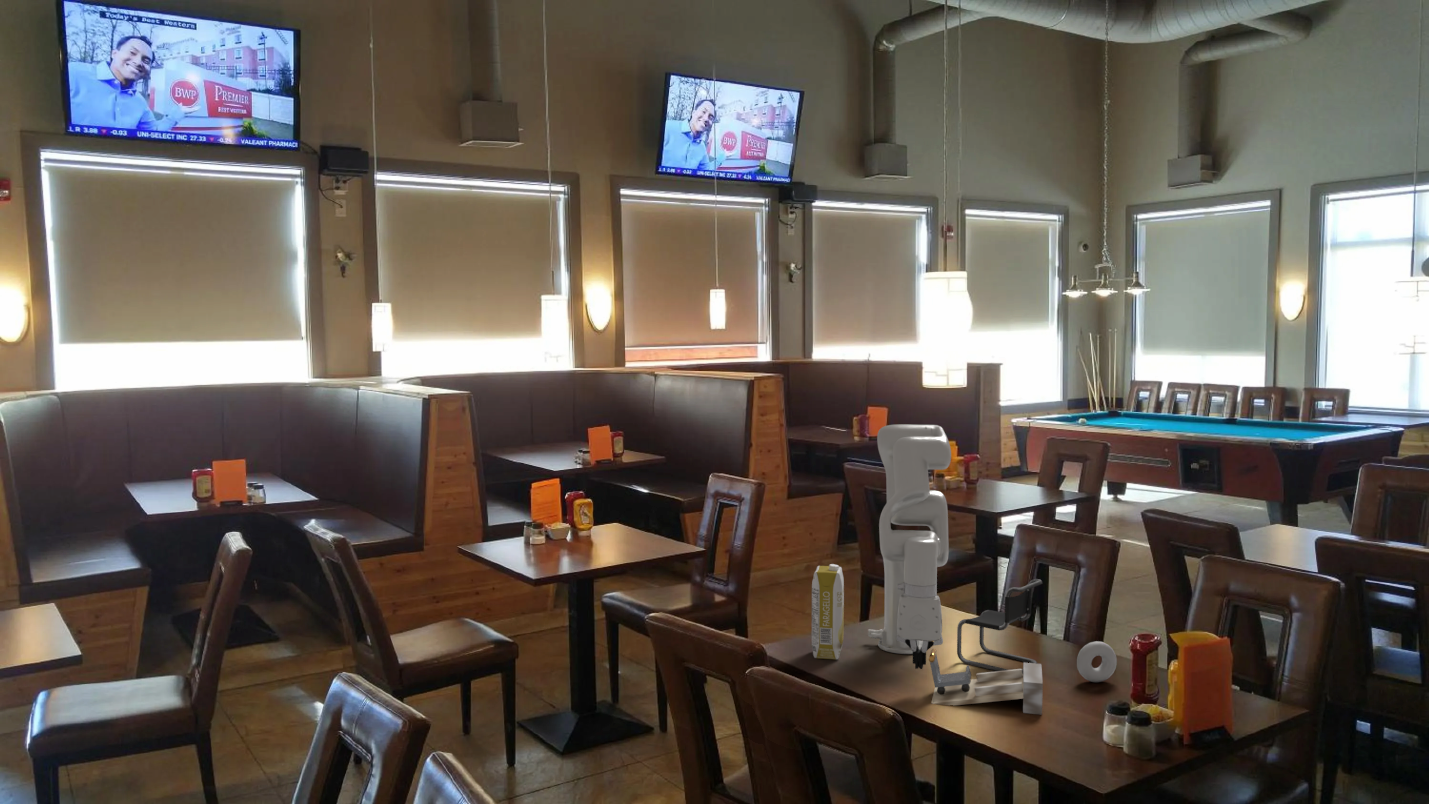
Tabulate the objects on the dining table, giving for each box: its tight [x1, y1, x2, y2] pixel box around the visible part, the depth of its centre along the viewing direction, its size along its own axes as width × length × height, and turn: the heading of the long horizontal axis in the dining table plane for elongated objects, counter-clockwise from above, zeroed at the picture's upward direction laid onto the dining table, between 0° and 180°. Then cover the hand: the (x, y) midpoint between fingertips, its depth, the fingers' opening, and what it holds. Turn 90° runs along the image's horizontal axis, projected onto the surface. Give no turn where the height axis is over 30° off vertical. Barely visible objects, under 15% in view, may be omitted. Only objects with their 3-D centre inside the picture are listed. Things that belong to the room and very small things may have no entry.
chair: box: [956, 578, 1043, 674], centre depth 256 cm, size 13×17×22 cm
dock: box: [930, 661, 1044, 716], centre depth 232 cm, size 24×14×8 cm, turn 73°
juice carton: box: [811, 563, 845, 660], centre depth 263 cm, size 9×8×24 cm
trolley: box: [928, 648, 972, 695], centre depth 234 cm, size 9×7×9 cm
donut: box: [1076, 640, 1118, 683], centre depth 242 cm, size 10×4×10 cm, turn 99°
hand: (919, 666), depth 236 cm, fingers closed
